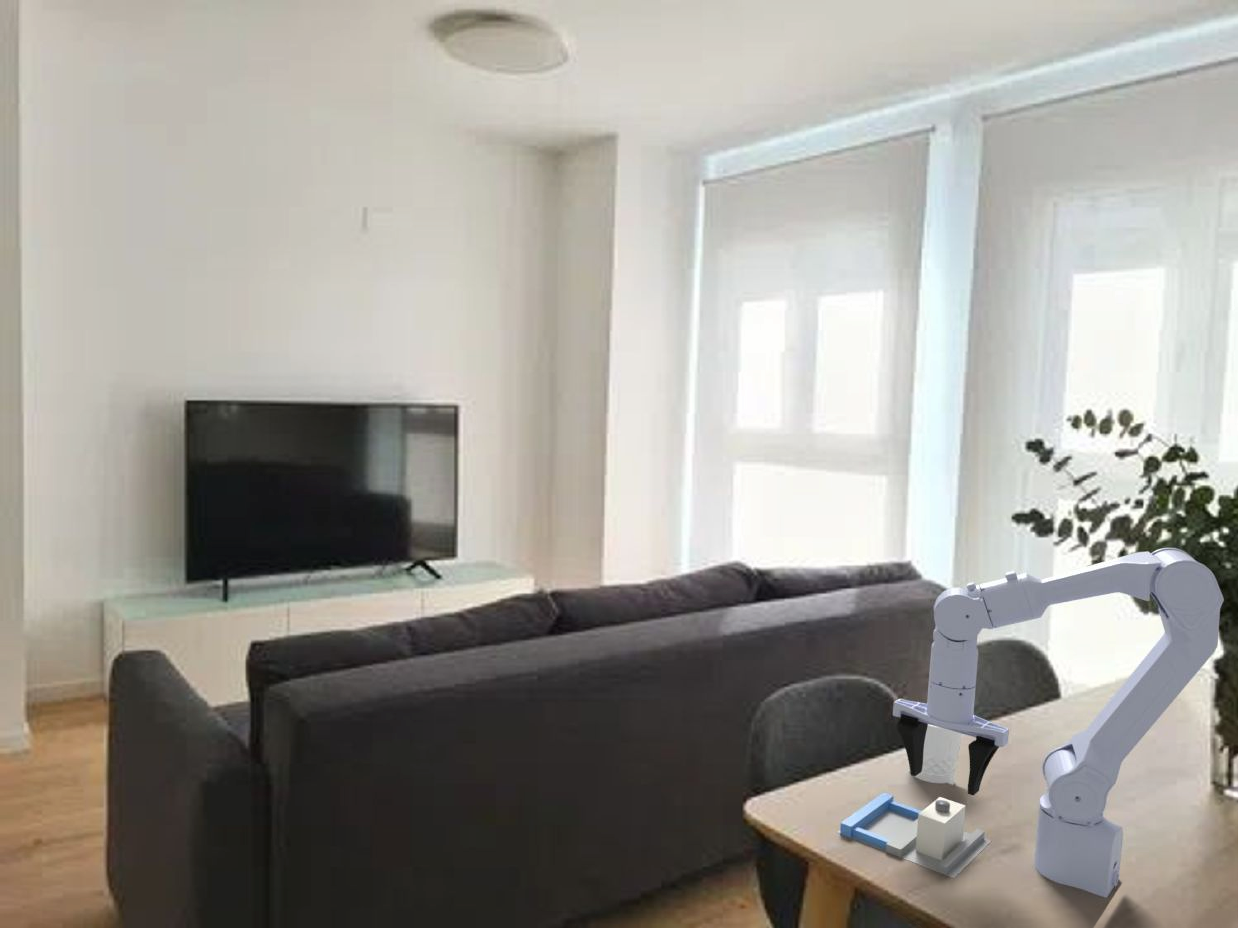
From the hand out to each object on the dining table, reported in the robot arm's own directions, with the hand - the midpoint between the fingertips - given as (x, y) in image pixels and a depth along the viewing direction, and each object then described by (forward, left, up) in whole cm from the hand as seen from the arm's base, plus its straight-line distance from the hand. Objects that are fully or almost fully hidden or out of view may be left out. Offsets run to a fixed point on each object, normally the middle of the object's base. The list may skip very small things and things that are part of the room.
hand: (944, 782), depth 121 cm
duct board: (+3, 0, -10) cm, 10 cm away
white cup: (+10, -22, -10) cm, 26 cm away
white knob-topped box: (0, 0, -9) cm, 9 cm away
